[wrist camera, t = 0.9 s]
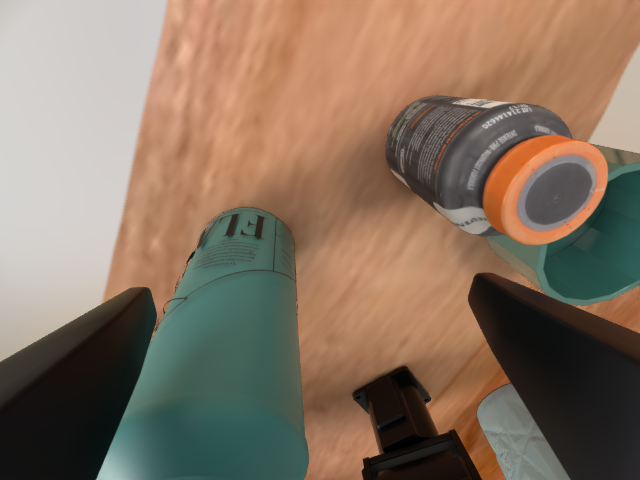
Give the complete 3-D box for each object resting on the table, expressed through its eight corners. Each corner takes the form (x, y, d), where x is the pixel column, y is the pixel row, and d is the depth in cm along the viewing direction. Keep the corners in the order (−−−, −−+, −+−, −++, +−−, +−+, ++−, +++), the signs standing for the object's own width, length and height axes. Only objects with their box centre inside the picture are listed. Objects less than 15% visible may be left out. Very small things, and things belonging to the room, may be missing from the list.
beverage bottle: (278, 183, 21) (255, 703, 4) (306, 261, 24) (370, 744, 7) (189, 212, 21) (-250, 830, 4) (228, 285, 25) (90, 811, 7)
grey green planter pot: (566, 375, 35) (690, 503, 24) (532, 429, 39) (623, 557, 29) (483, 378, 34) (576, 516, 23) (458, 434, 38) (525, 570, 28)
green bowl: (615, 218, 26) (701, 254, 20) (503, 279, 27) (556, 327, 22) (596, 111, 21) (700, 121, 16) (464, 191, 23) (518, 225, 18)
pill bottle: (405, 200, 23) (502, 294, 13) (368, 129, 20) (452, 178, 10) (480, 154, 22) (647, 217, 12) (450, 74, 19) (634, 68, 9)
